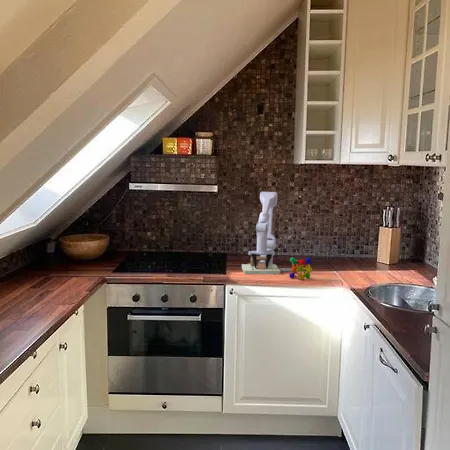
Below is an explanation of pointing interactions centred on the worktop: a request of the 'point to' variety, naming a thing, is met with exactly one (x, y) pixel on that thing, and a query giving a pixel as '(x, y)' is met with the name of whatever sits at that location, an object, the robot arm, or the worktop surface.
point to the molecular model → (300, 268)
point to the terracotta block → (261, 265)
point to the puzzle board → (252, 270)
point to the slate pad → (285, 269)
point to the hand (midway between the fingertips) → (261, 267)
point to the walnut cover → (258, 259)
